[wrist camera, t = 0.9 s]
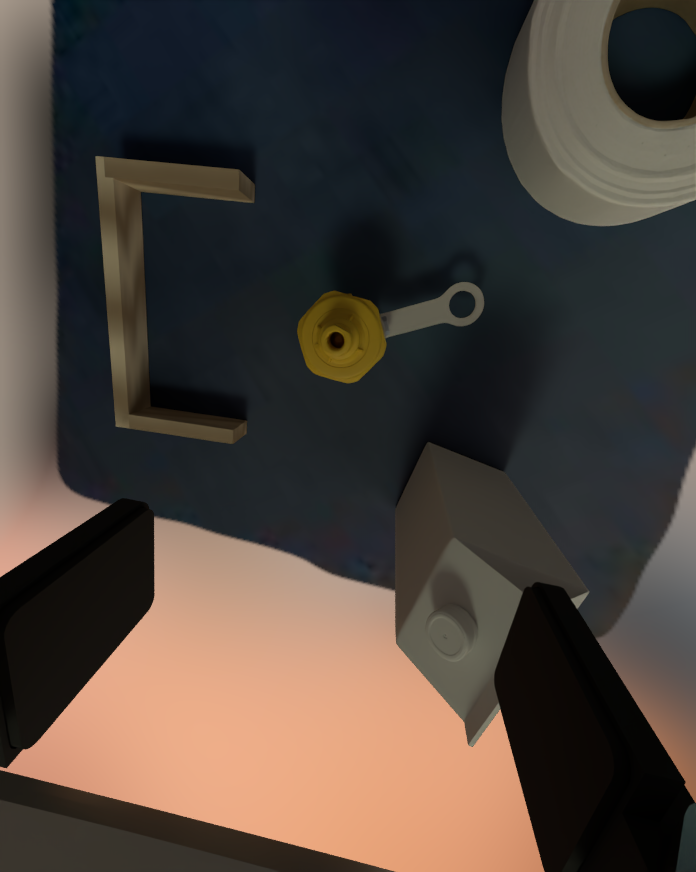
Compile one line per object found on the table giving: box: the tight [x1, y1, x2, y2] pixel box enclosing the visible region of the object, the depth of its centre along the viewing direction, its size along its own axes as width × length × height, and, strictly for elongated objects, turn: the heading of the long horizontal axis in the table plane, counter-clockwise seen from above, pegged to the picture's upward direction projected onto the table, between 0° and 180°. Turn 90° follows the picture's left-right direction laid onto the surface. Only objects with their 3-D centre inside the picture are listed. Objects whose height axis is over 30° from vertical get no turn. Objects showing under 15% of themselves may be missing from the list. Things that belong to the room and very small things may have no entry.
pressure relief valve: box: [297, 282, 484, 383], centre depth 25 cm, size 6×12×10 cm, turn 105°
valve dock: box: [95, 156, 255, 444], centre depth 30 cm, size 19×10×3 cm, turn 173°
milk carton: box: [395, 442, 589, 747], centre depth 25 cm, size 7×7×19 cm
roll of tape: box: [501, 0, 696, 226], centre depth 22 cm, size 16×16×6 cm
